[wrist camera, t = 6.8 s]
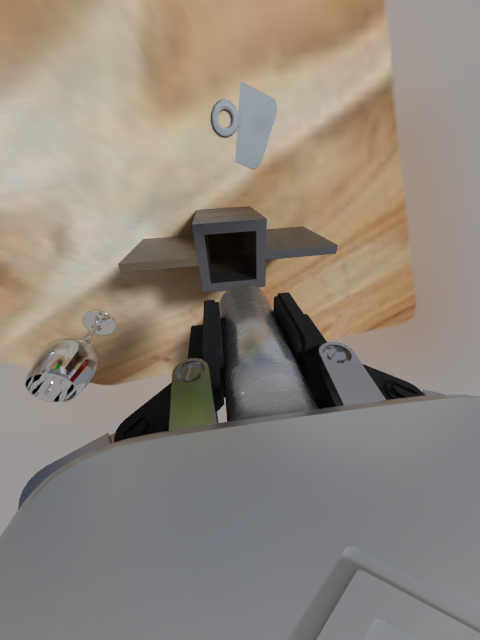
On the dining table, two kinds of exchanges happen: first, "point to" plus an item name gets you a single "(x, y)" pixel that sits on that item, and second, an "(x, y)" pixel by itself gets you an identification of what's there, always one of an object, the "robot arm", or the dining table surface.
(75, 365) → the wineglass
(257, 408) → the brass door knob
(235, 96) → the dining table surface
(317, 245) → the hinge leaf
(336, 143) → the dining table surface
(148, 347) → the dining table surface
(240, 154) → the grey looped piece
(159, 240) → the hinge leaf
